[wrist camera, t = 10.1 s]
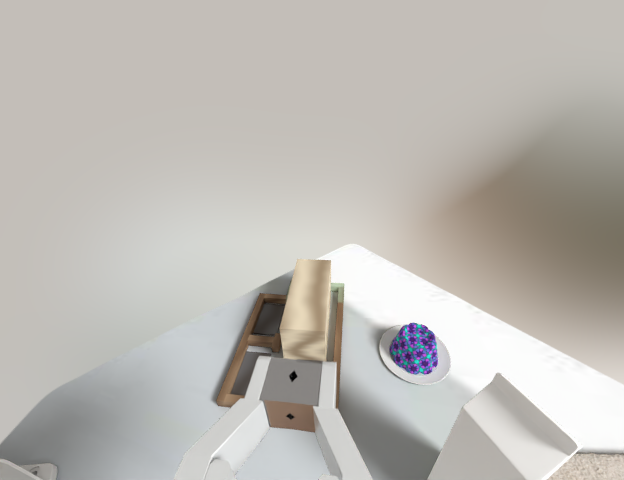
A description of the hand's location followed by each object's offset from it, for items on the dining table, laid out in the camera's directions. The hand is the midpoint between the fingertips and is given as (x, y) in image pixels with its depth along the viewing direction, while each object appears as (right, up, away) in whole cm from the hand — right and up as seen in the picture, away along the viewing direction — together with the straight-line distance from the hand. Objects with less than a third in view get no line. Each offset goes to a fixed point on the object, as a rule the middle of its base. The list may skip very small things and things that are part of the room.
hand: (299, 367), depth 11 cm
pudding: (+19, -16, +39) cm, 46 cm away
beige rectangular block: (0, -12, +45) cm, 46 cm away
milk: (+18, -26, +22) cm, 39 cm away
